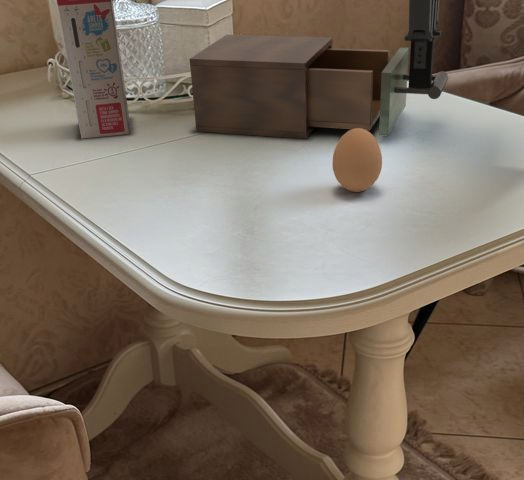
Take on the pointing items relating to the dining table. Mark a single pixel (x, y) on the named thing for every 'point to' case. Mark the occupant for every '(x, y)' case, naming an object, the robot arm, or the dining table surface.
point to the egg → (357, 160)
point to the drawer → (361, 88)
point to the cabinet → (254, 84)
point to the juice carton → (95, 66)
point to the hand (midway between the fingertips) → (419, 91)
